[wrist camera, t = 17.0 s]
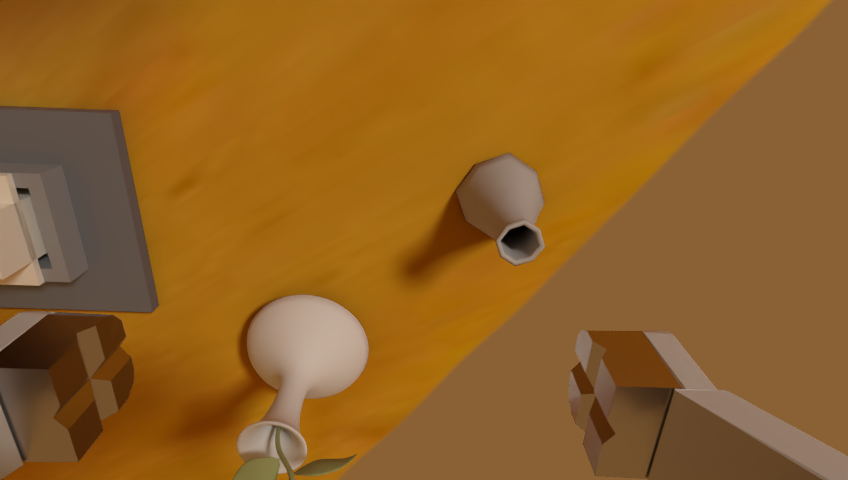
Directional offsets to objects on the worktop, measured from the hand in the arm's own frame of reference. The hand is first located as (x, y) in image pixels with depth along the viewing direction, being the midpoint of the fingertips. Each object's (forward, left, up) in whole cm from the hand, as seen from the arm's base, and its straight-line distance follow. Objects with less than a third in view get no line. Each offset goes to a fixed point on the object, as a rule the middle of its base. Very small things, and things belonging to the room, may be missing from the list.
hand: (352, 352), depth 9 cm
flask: (+8, +8, -33) cm, 35 cm away
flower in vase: (+23, -8, -33) cm, 41 cm away
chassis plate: (+11, -32, -33) cm, 47 cm away
